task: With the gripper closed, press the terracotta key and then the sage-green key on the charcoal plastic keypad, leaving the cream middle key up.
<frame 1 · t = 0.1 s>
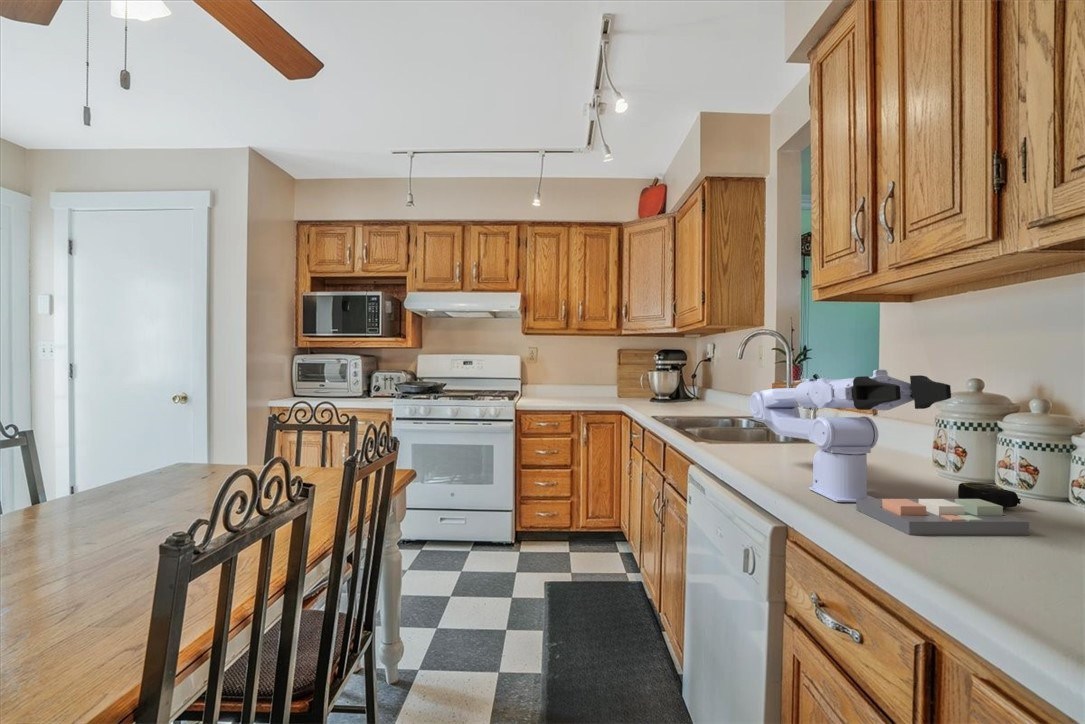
hand: (923, 392, 71), 22 cm above the table, fingers open, 7 cm apart
cream key: (940, 509, 75), point 2 cm above the table, slide at 0.0 cm
terracotta key: (903, 509, 75), point 2 cm above the table, slide at 0.0 cm
sage key: (978, 509, 75), point 2 cm above the table, slide at 0.0 cm
tape measure: (988, 508, 84), on the table
keypad: (935, 521, 76), on the table
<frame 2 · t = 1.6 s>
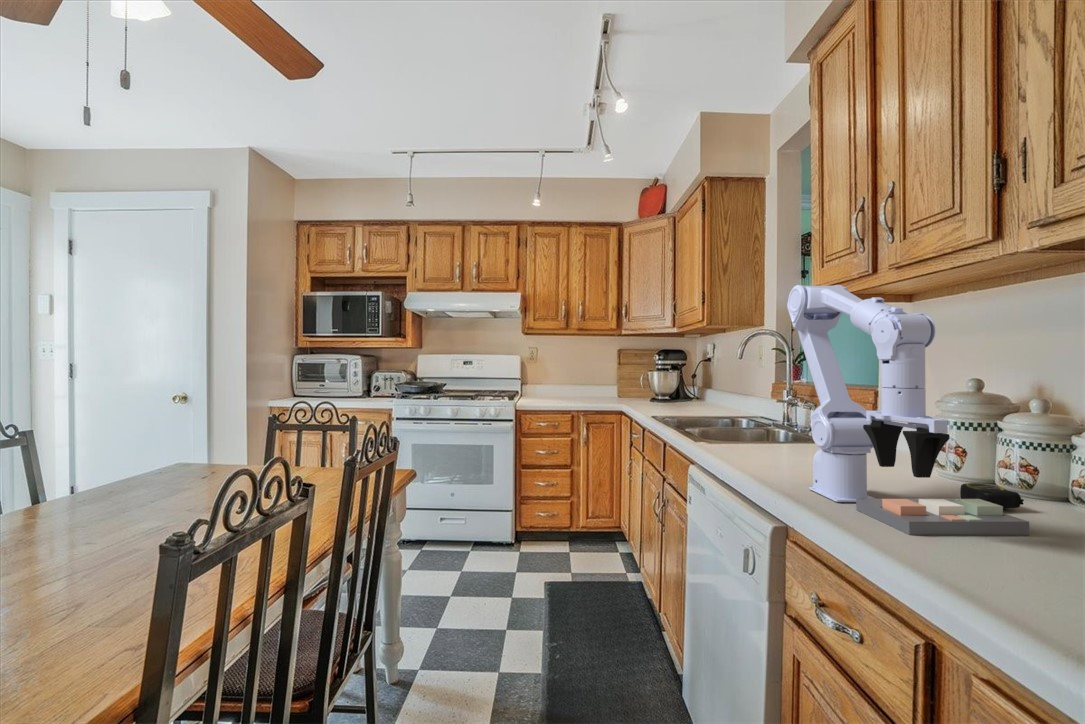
hand: (903, 471, 75), 8 cm above the table, fingers open, 7 cm apart
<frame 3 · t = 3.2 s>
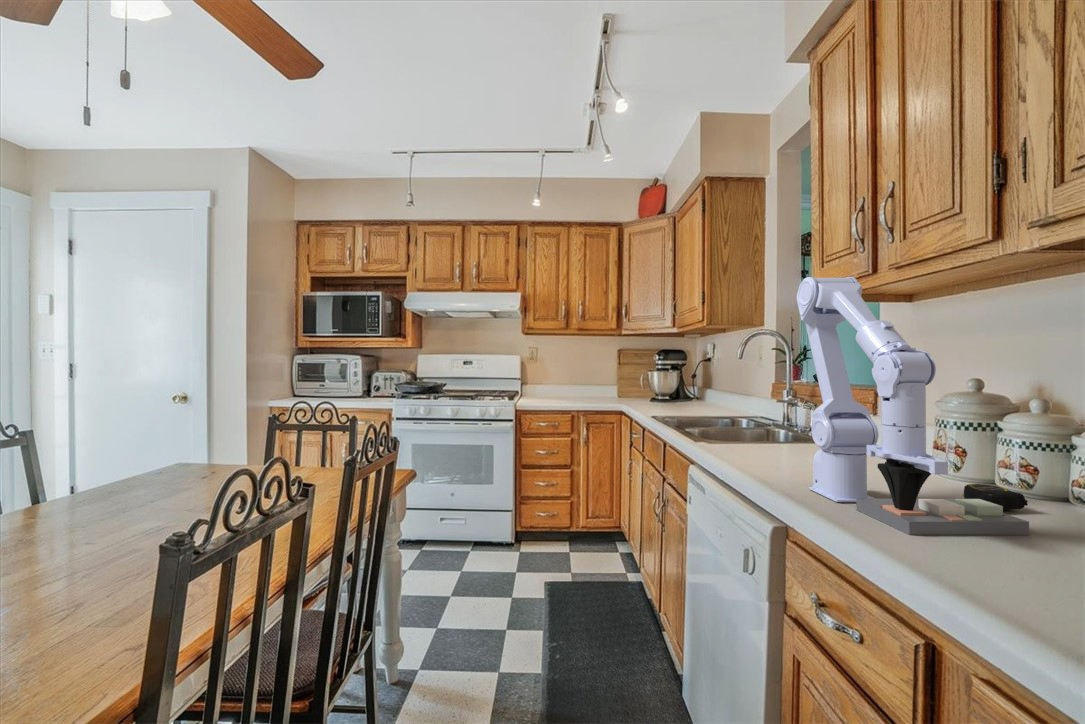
hand: (903, 509, 75), 2 cm above the table, fingers closed, pressing on terracotta key
terracotta key: (903, 515, 75), point 1 cm above the table, slide at 1.0 cm, touching gripper
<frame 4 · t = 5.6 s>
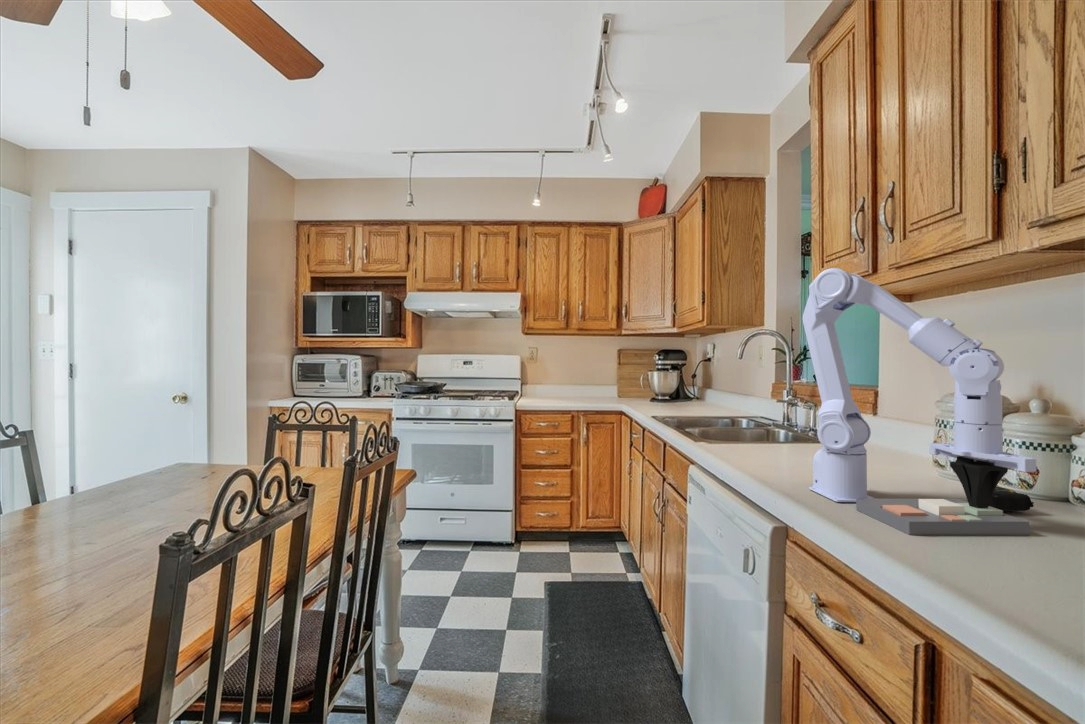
hand: (978, 507, 75), 3 cm above the table, fingers closed, pressing on sage key
terracotta key: (903, 515, 75), point 1 cm above the table, slide at 1.0 cm
sage key: (978, 513, 75), point 2 cm above the table, slide at 0.7 cm, touching gripper
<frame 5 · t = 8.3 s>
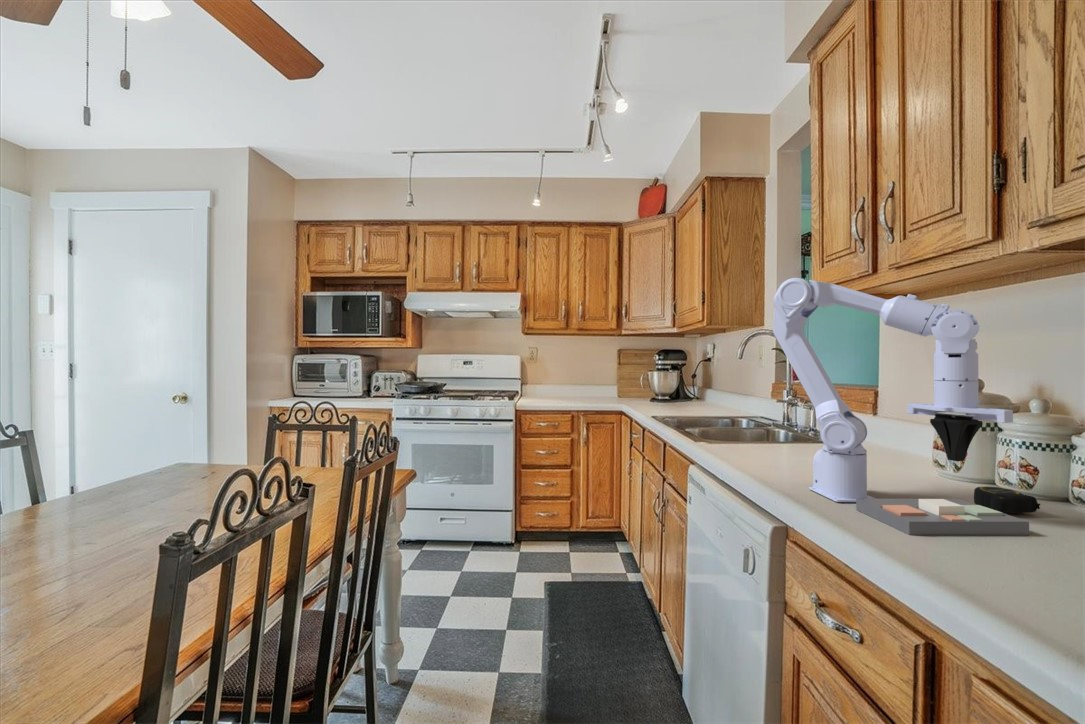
hand: (956, 460, 79), 9 cm above the table, fingers closed
sage key: (978, 515, 75), point 1 cm above the table, slide at 1.0 cm
at the end: terracotta key slide at 1.0 cm; sage key slide at 1.0 cm; cream key slide at 0.0 cm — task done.
